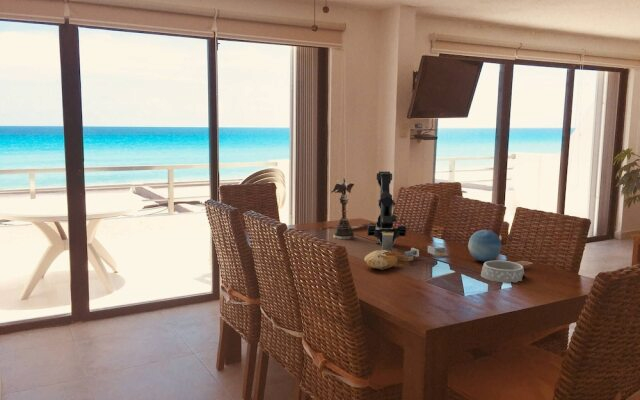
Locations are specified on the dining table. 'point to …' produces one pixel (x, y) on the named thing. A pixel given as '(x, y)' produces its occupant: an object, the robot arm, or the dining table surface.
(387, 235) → the block
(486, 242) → the decorative ball
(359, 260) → the dining table surface
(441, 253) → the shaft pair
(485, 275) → the dog bowl
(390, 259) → the nautilus
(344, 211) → the bird statue
